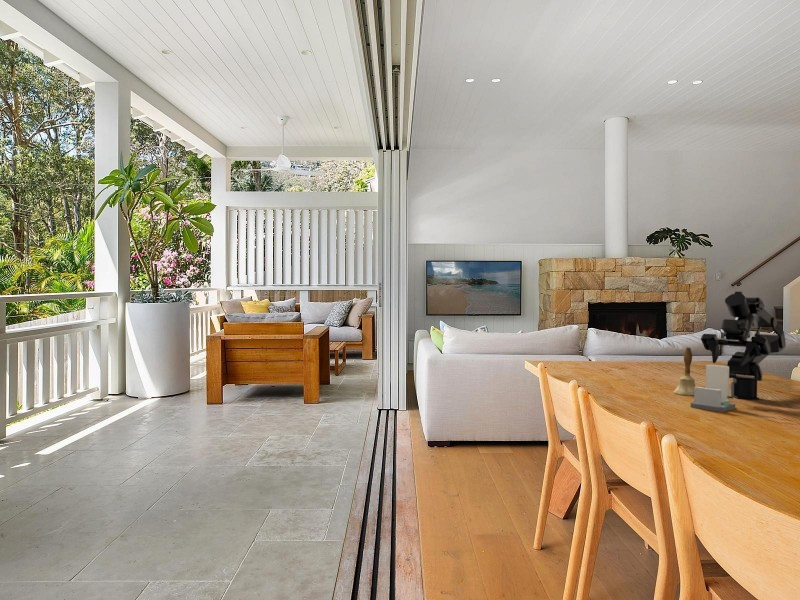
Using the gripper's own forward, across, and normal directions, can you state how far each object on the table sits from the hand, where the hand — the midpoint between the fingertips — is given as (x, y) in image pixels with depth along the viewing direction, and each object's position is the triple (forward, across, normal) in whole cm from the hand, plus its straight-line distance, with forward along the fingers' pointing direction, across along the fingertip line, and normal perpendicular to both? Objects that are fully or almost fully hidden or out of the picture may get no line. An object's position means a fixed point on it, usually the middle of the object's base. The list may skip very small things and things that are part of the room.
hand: (727, 363), depth 175 cm
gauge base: (+16, 0, +1) cm, 16 cm away
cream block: (+13, 0, +2) cm, 13 cm away
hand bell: (+4, -15, +14) cm, 21 cm away
